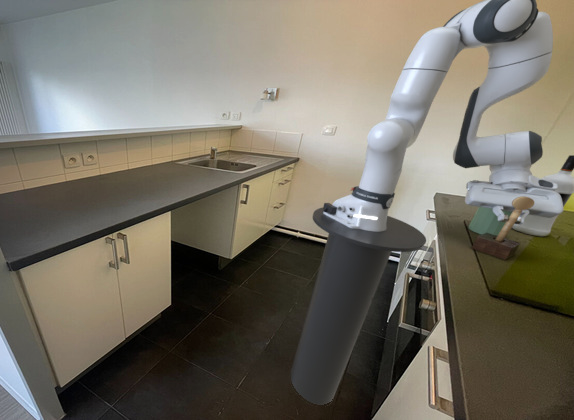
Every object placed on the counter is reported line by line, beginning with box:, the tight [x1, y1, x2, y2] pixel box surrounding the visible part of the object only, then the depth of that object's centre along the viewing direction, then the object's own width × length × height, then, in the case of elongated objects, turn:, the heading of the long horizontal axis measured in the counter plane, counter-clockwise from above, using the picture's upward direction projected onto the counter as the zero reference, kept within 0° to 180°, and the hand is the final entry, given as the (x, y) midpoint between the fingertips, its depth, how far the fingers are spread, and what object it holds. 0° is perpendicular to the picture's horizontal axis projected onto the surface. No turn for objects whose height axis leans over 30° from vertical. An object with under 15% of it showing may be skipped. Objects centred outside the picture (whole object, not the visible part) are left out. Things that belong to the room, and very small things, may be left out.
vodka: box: [511, 154, 574, 237], centre depth 91 cm, size 9×9×30 cm
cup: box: [468, 206, 512, 236], centre depth 92 cm, size 9×9×13 cm
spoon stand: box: [471, 233, 521, 261], centre depth 79 cm, size 8×8×4 cm
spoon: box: [495, 196, 534, 242], centre depth 76 cm, size 4×2×19 cm, turn 60°
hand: (510, 222), depth 75 cm, fingers closed
